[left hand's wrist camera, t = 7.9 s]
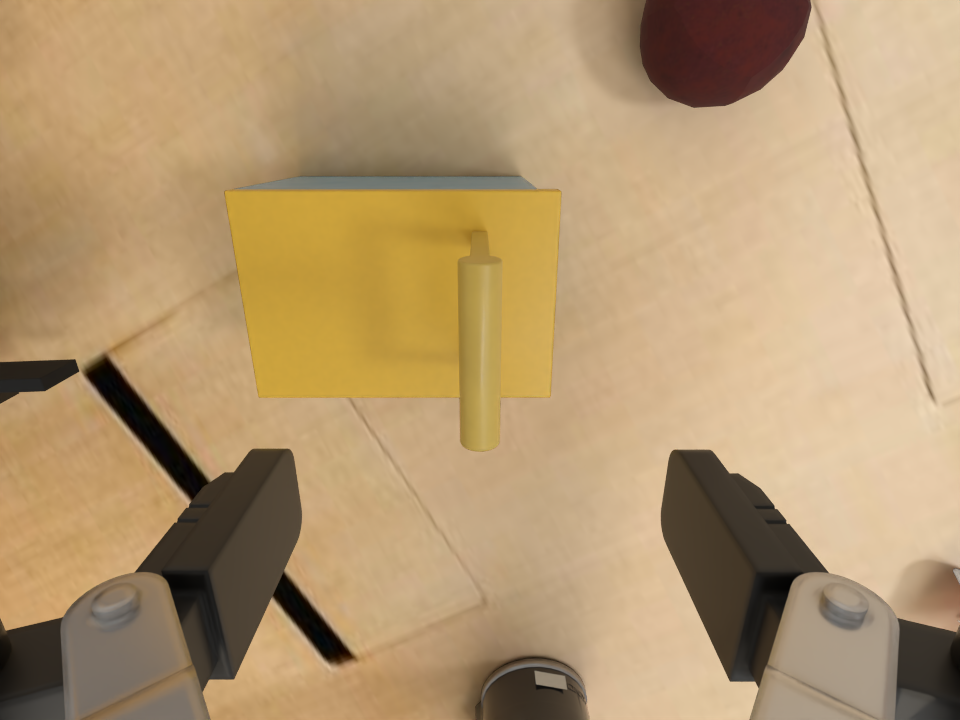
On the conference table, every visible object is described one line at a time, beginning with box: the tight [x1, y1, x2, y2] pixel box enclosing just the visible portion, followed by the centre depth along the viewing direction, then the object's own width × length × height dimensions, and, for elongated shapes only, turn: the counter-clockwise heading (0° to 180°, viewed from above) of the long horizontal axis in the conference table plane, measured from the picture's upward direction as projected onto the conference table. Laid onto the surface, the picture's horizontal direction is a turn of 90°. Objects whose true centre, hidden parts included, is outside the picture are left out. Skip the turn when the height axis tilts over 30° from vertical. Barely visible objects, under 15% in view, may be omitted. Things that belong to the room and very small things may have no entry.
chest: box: [236, 176, 536, 189], centre depth 30 cm, size 14×10×10 cm
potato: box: [640, 0, 811, 108], centre depth 27 cm, size 7×8×7 cm
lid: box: [224, 189, 561, 452], centre depth 22 cm, size 14×10×8 cm
